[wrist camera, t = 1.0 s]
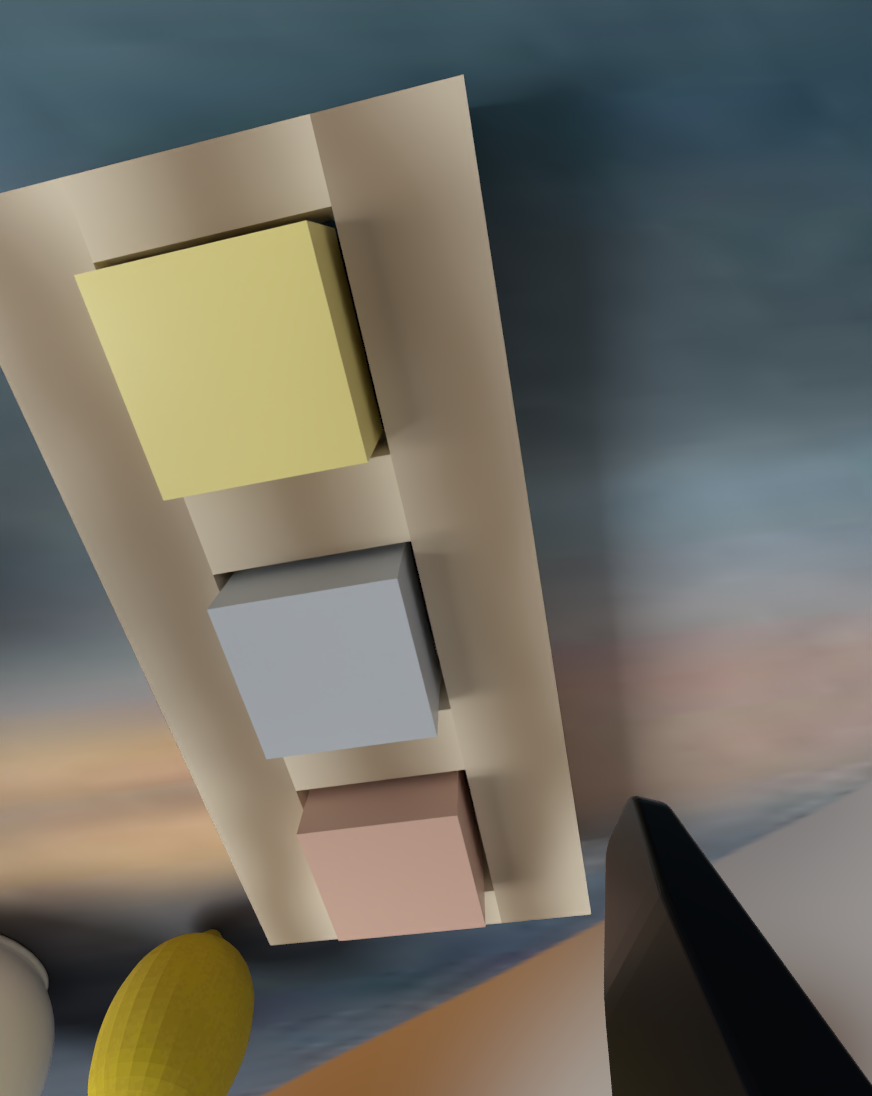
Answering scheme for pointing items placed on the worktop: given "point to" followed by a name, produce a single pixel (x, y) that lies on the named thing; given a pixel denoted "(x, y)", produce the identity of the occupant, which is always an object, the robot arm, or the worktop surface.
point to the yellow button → (238, 359)
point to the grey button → (331, 651)
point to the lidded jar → (24, 1021)
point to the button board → (317, 478)
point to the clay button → (396, 855)
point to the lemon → (177, 1022)
